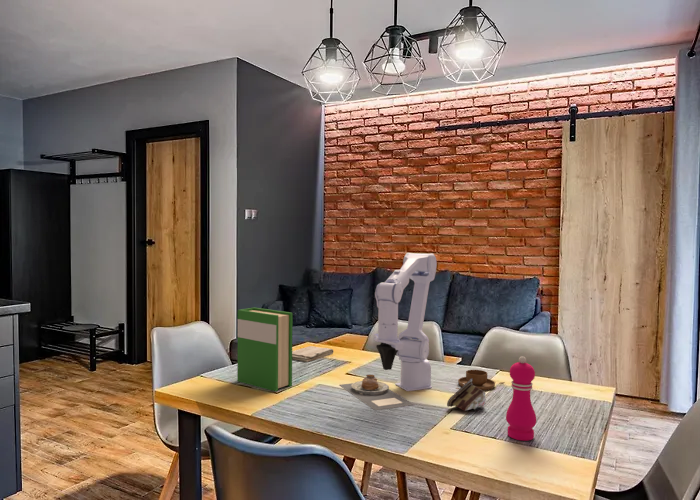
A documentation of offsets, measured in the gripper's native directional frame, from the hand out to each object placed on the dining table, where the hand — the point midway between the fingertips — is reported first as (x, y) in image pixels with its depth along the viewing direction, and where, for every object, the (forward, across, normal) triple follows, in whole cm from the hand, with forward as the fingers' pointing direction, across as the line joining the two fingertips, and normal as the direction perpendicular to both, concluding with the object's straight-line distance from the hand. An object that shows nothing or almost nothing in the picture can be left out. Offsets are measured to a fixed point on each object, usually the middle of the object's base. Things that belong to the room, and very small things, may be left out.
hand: (387, 369), depth 154 cm
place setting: (+11, -1, +38) cm, 40 cm away
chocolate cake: (+12, +14, +16) cm, 24 cm away
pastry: (+10, -13, +1) cm, 16 cm away
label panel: (+10, -8, 0) cm, 13 cm away
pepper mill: (+10, +35, +19) cm, 41 cm away
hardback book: (+10, -31, -29) cm, 44 cm away
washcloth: (+11, -62, -2) cm, 63 cm away
